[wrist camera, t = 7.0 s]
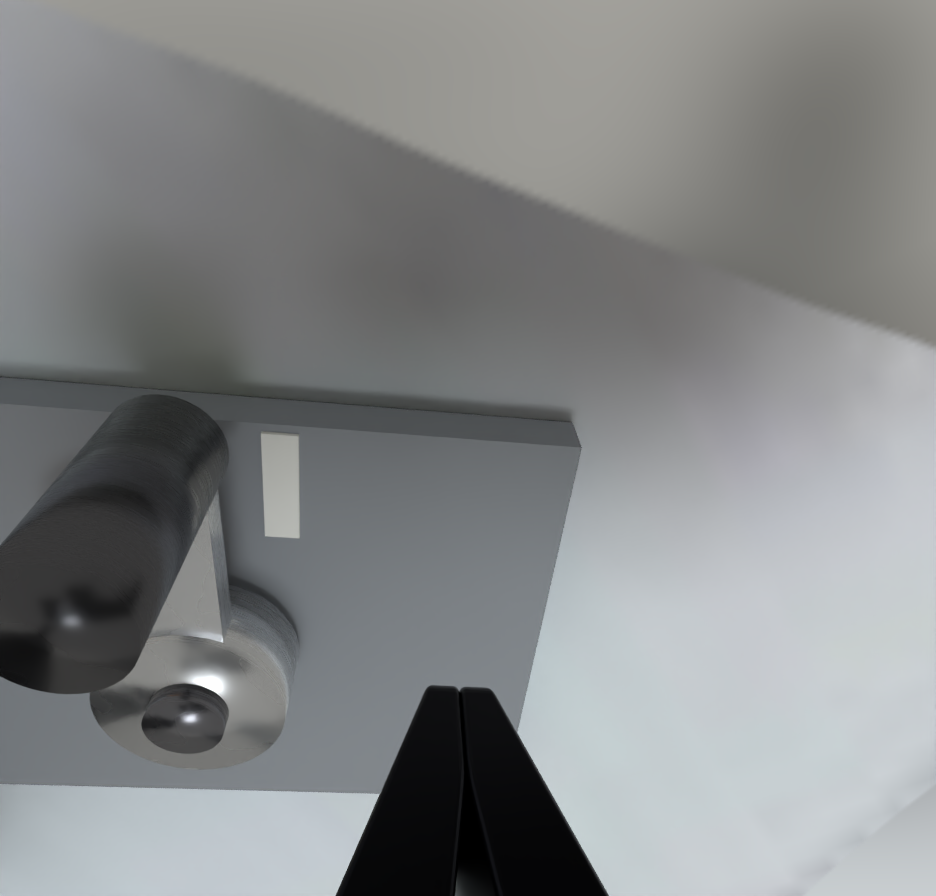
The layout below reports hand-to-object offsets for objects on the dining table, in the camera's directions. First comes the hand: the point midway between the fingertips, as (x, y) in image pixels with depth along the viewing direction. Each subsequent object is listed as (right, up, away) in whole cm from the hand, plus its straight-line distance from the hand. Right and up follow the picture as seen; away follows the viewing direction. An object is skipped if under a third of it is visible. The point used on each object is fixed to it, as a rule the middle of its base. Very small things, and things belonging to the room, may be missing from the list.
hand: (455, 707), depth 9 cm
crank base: (-7, -1, +10) cm, 12 cm away
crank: (-6, +1, +8) cm, 10 cm away
